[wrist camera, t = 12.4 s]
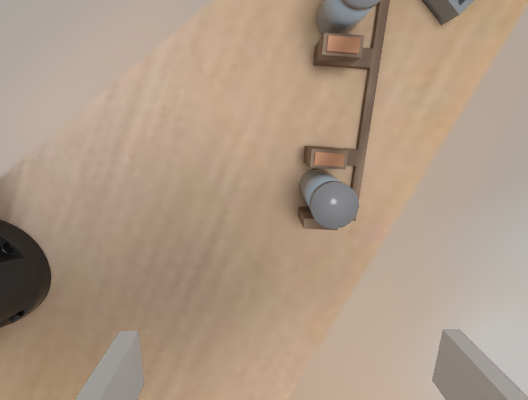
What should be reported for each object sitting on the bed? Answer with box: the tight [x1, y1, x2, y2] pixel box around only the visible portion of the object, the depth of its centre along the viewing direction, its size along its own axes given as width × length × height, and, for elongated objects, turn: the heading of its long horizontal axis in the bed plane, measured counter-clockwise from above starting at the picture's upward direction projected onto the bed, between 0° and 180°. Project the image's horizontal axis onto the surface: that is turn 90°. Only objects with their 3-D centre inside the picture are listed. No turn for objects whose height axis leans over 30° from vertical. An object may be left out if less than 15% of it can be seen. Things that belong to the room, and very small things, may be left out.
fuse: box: [300, 169, 359, 229], centre depth 32 cm, size 5×5×10 cm
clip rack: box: [298, 0, 390, 230], centre depth 32 cm, size 8×28×5 cm, turn 176°
